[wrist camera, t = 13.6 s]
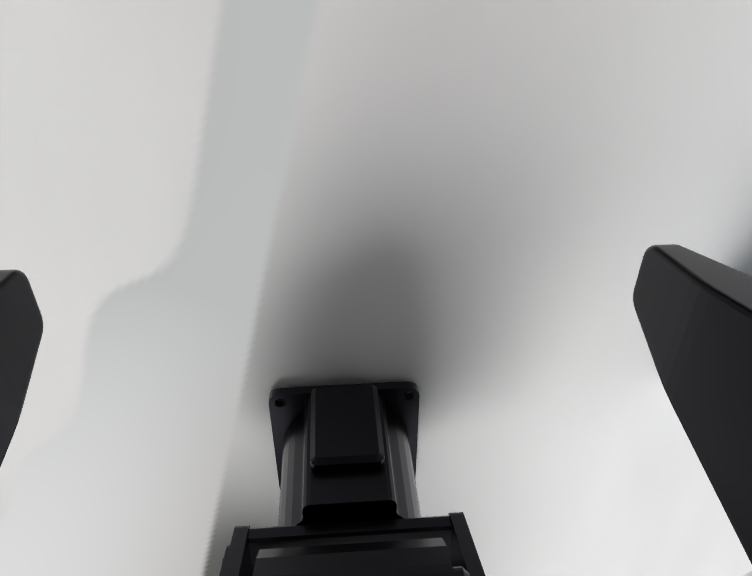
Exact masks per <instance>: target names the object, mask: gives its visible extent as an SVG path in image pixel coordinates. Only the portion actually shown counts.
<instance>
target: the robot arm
mask: <svg viewBox="0 0 752 576" xmlns="http://www.w3.org/2000/svg"><path fill="white" fill-rule="evenodd" d="M633 302H634V307H635V310H636V313H637V316H638V319H639V321H640V324H641V327H642V330H643V332H644V335H645V338H646V341H647V344H648V346H649V349H650V352H651V355H652V357H653V360H654V363H655V366H656V369H657V371H658V374H659V377H660V379H661V382H662V384H663V387H664V389H665V391H666V393H667V396H668V398H669V400H670V402H671V404H672V406H673V408H674V410H675V412H676V414H677V416H678V418H679V420H680V422H681V424H682V426H683V428H684V430H685V432H686V434H687V436H688V438H689V440H690V442H691V444H692V446H693V448H694V450H695V452H696V454H697V456H698V458H699V460H700V462H701V464H702V466H703V468H704V470H705V472H706V474H707V476H708V478H709V480H710V482H711V484H712V486H713V488H714V490H715V492H716V494H717V496H718V498H719V500H720V502H721V504H722V506H723V508H724V510H725V512H726V514H727V516H728V518H729V520H730V522H731V524H732V526H733V528H734V530H735V532H736V534H737V536H738V538H739V540H740V542H741V544H742V546H743V548H744V550H745V552H746V554H747V556H748V558H749V560H750V562H751V564H752V277H751V276H749V275H747V274H744V273H742V272H740V271H737V270H735V269H733V268H731V267H728V266H726V265H724V264H721V263H719V262H717V261H714V260H712V259H710V258H708V257H705V256H703V255H701V254H698V253H696V252H694V251H691V250H689V249H687V248H684V247H682V246H680V245H674V244H672V245H653V246H651V247H649V248H648V249H647V250H646V252H645V254H644V256H643V260H642V263H641V267H640V270H639V274H638V277H637V281H636V285H635V288H634V293H633ZM42 333H43V320H42V316H41V313H40V310H39V307H38V305H37V302H36V299H35V297H34V294H33V291H32V289H31V286H30V283H29V281H28V279H27V277H26V275H25V274H24V273H23V272H21V271H19V270H0V466H1V464H2V462H3V459H4V457H5V454H6V452H7V449H8V447H9V444H10V442H11V439H12V437H13V434H14V432H15V429H16V426H17V424H18V421H19V417H20V414H21V411H22V408H23V404H24V400H25V397H26V393H27V389H28V385H29V382H30V378H31V374H32V370H33V367H34V363H35V359H36V356H37V352H38V348H39V344H40V341H41V337H42ZM406 392H411V393H410V394H404V393H406ZM277 399H284V401H278V400H277ZM269 409H270V416H271V424H272V432H273V440H274V447H275V455H276V463H277V471H278V478H279V486H280V506H279V522H278V527H263V528H250V526H239V527H235V528H234V532H233V536H232V540H231V544H230V545H227V548H226V552H225V556H224V558H223V562H222V568H221V572H220V576H485V574H484V571H483V568H482V565H481V562H480V559H479V556H478V554H477V551H476V548H475V545H474V542H473V539H472V536H471V534H470V531H469V528H468V525H467V522H466V519H465V516H464V514H463V512H459V513H449V516H435V517H421V515H420V509H419V502H418V496H417V489H416V483H415V474H416V453H417V433H418V412H419V392H418V387H417V385H416V384H415V383H413V382H389V383H370V384H350V385H330V386H311V387H291V388H278V389H275V390H273V391H272V392H271V393H270V397H269Z"/></svg>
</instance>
